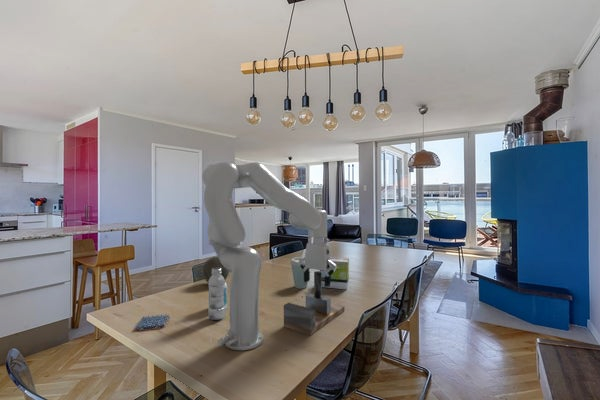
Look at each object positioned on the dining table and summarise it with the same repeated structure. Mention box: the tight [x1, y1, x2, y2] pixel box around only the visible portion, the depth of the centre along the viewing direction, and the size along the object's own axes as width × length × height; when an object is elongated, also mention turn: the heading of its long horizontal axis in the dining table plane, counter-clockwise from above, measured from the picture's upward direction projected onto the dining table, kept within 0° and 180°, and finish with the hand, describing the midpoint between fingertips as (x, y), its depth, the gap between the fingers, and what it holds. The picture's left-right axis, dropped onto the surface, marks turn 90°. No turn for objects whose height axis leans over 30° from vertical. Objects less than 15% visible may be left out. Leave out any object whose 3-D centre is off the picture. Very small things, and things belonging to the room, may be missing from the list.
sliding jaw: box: [305, 270, 332, 315], centre depth 114 cm, size 3×10×16 cm, turn 55°
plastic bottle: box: [207, 267, 226, 321], centre depth 113 cm, size 6×7×20 cm
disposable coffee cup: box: [290, 257, 309, 289], centre depth 153 cm, size 11×11×15 cm
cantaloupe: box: [202, 256, 230, 283], centre depth 158 cm, size 14×14×15 cm
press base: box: [283, 302, 345, 336], centre depth 113 cm, size 26×12×8 cm, turn 145°
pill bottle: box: [208, 277, 228, 310], centre depth 123 cm, size 8×7×14 cm
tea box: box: [319, 256, 350, 290], centre depth 154 cm, size 15×10×15 cm, turn 76°
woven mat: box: [135, 314, 171, 332], centre depth 108 cm, size 10×11×2 cm
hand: (316, 283), depth 114 cm, fingers open, 9 cm apart
